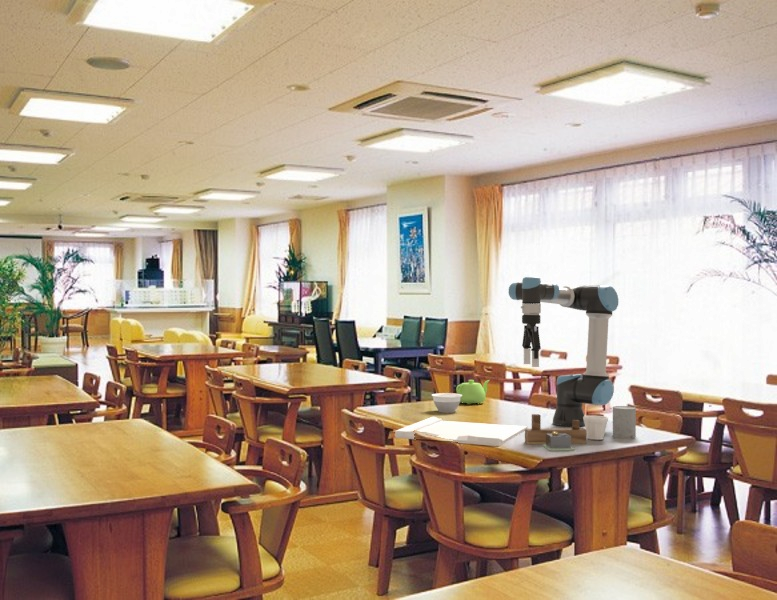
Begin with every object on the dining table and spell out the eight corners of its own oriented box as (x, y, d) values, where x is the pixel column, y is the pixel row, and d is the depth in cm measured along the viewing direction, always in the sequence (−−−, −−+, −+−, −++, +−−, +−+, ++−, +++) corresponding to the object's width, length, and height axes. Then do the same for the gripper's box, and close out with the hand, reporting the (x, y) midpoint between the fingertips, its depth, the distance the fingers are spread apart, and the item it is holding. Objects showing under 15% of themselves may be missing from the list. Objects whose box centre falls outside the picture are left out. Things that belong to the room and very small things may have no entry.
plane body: (524, 442, 324) (524, 413, 324) (582, 441, 326) (582, 413, 326) (527, 444, 319) (527, 415, 319) (586, 443, 321) (586, 415, 321)
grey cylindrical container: (637, 438, 332) (637, 409, 332) (613, 438, 334) (613, 408, 334) (634, 435, 342) (634, 406, 341) (611, 434, 343) (611, 405, 343)
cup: (607, 442, 325) (607, 419, 325) (582, 440, 328) (582, 418, 328) (608, 437, 334) (608, 415, 334) (584, 436, 337) (584, 414, 337)
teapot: (483, 400, 455) (483, 377, 455) (497, 403, 442) (497, 380, 442) (449, 402, 446) (449, 379, 446) (462, 406, 433) (462, 381, 433)
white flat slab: (527, 430, 357) (527, 422, 357) (499, 447, 315) (499, 438, 315) (433, 423, 375) (433, 416, 375) (395, 439, 334) (395, 430, 334)
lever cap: (545, 444, 315) (545, 430, 315) (565, 444, 315) (565, 430, 315) (550, 448, 308) (550, 433, 308) (571, 448, 308) (571, 433, 308)
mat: (542, 445, 316) (542, 444, 316) (567, 445, 317) (567, 443, 317) (549, 450, 306) (549, 449, 306) (574, 450, 307) (574, 448, 307)
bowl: (468, 411, 411) (468, 395, 411) (446, 414, 401) (446, 397, 401) (447, 408, 423) (447, 392, 423) (425, 411, 413) (425, 394, 413)
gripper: (515, 313, 342) (515, 363, 342) (529, 314, 317) (529, 368, 317) (532, 313, 343) (532, 362, 343) (548, 314, 318) (548, 368, 318)
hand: (531, 365), depth 330 cm, fingers open, 13 cm apart
